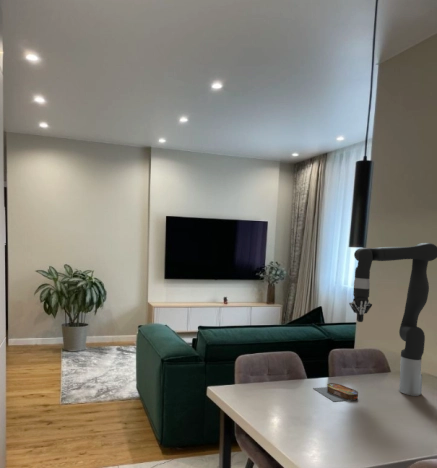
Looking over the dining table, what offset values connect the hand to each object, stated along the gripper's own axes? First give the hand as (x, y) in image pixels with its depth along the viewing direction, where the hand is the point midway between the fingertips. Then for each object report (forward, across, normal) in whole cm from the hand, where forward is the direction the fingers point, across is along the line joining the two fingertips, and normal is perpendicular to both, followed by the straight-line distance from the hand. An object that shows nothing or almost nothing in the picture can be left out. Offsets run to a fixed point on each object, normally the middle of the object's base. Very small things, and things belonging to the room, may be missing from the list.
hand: (359, 321), depth 189 cm
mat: (+33, +18, +5) cm, 38 cm away
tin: (+32, +10, +5) cm, 34 cm away
